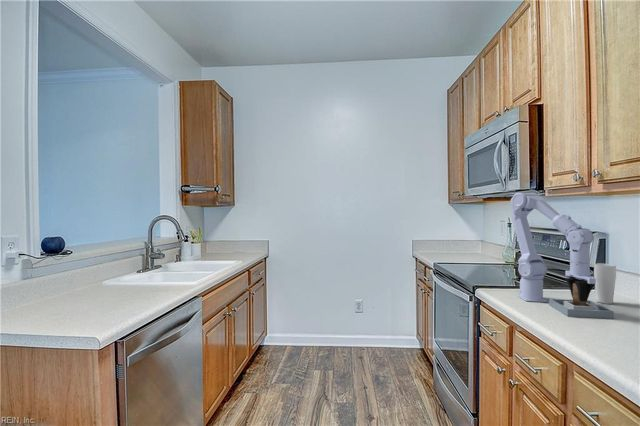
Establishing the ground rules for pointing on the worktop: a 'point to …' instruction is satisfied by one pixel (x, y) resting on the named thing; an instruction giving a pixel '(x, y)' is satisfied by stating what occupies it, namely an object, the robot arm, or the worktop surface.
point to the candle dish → (581, 309)
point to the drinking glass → (605, 282)
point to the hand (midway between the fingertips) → (579, 299)
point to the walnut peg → (577, 297)
